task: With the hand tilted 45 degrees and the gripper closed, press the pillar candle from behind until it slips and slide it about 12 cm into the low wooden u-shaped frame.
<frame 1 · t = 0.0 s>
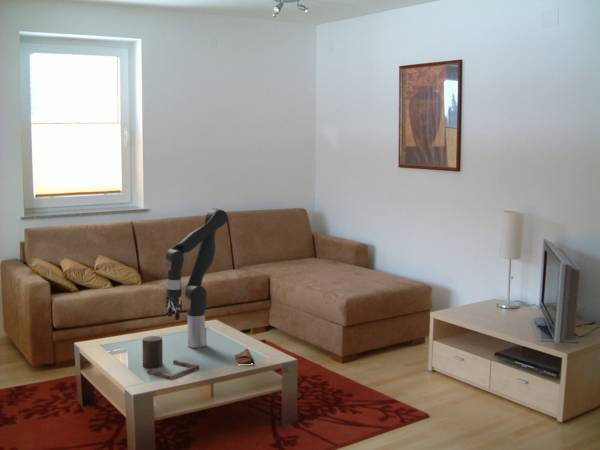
hand: (173, 318, 374), 17 cm above the table, tool pointing down, fingers open, 8 cm apart
wooden u-shaped frame: (170, 369, 344), on the table
pillar candle: (152, 365, 351), on the table
sunglasses case: (243, 361, 360), on the table
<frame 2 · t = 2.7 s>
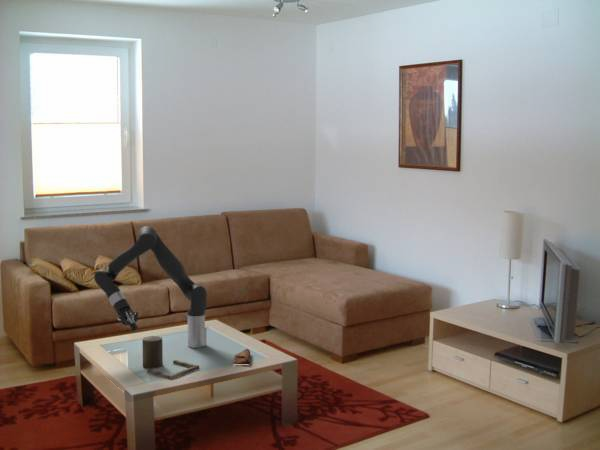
hand: (135, 330, 355), 16 cm above the table, tool tilted 45°, fingers closed
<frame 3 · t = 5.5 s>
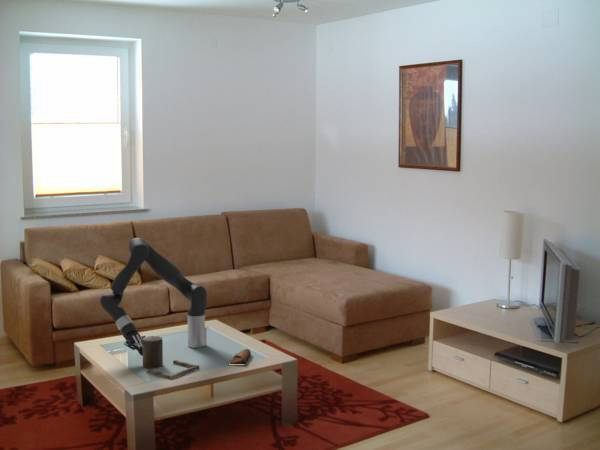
hand: (143, 354, 352), 5 cm above the table, tool tilted 45°, fingers closed
pillar candle: (152, 365, 351), on the table, touching gripper
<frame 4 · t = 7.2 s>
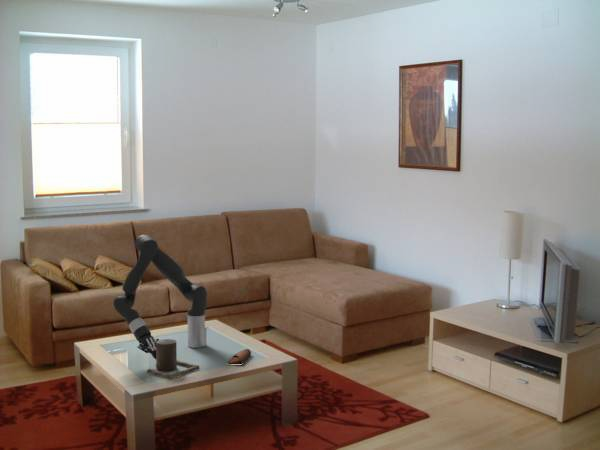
hand: (157, 358, 347), 5 cm above the table, tool tilted 45°, fingers closed
pillar candle: (166, 369, 346), on the table, touching gripper
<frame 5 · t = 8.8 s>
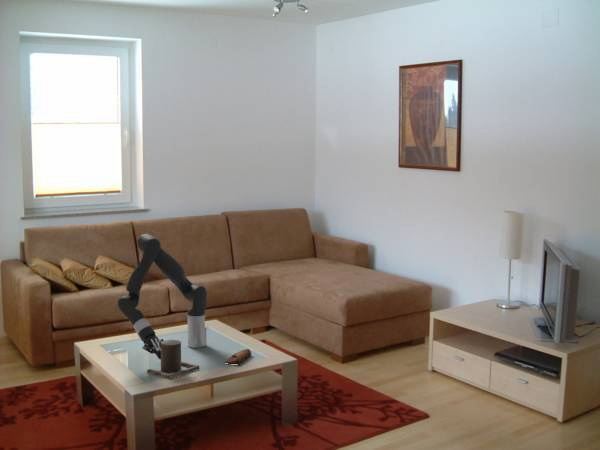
hand: (162, 358, 346), 5 cm above the table, tool tilted 45°, fingers closed
pillar candle: (171, 370, 344), on the table, touching gripper
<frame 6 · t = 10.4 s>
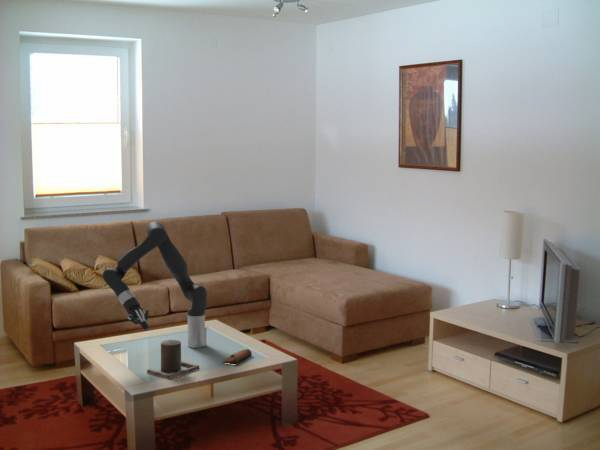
hand: (146, 328, 351), 18 cm above the table, tool tilted 45°, fingers closed
pillar candle: (171, 370, 344), on the table
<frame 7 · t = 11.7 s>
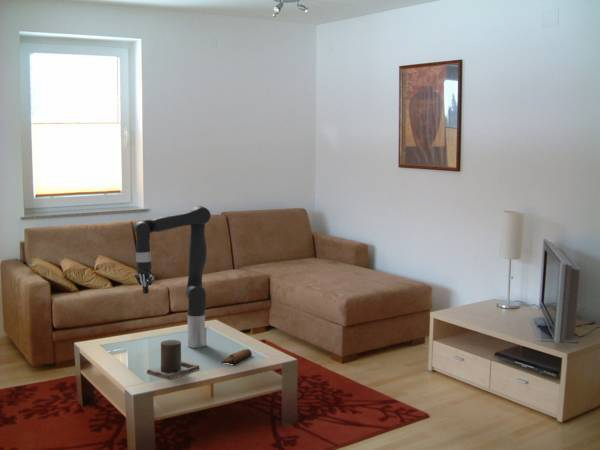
hand: (145, 293, 369), 31 cm above the table, tool pointing down, fingers closed
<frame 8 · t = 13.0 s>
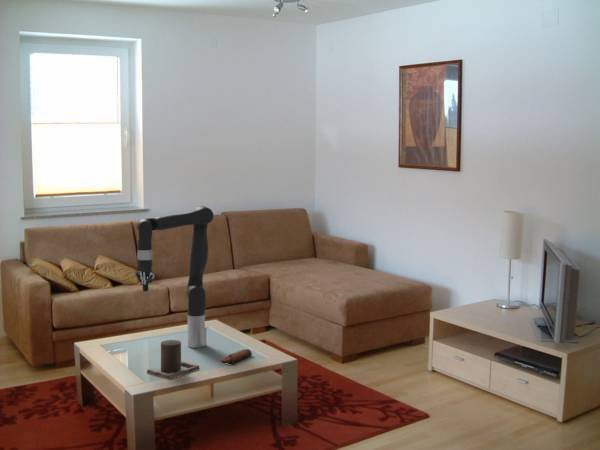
hand: (145, 291, 370), 32 cm above the table, tool pointing down, fingers closed
at the end: pillar candle inside the target area (0.5 cm from its centre), on the table; pillar candle tilted 0°; pillar candle moved 12.1 cm from its start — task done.
